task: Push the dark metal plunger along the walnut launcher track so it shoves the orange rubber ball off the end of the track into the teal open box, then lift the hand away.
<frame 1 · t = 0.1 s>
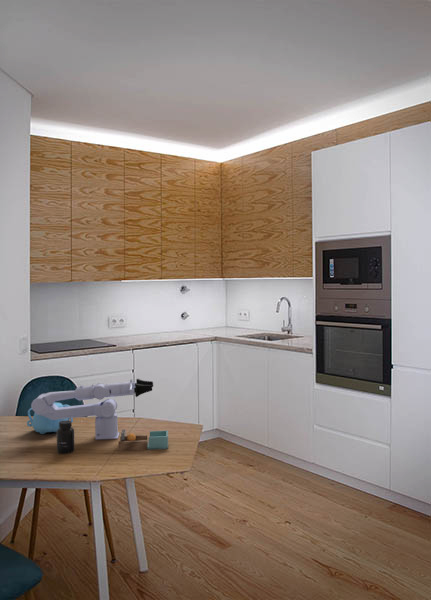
hand: (152, 386, 225), 22 cm above the table, tool horizontal, fingers open, 7 cm apart
decorative pot: (50, 430, 235), on the table, touching arm
plunger: (123, 436, 210), point 4 cm above the table, slide at 0.0 cm
ball: (131, 437, 211), point 4 cm above the table, touching launcher
launcher: (133, 446, 211), on the table
teal open box: (158, 445, 211), on the table
supplement bottle: (66, 452, 207), on the table
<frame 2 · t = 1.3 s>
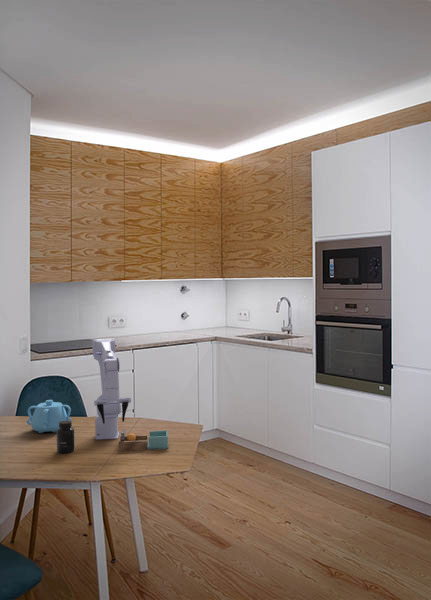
hand: (113, 422, 209), 11 cm above the table, tool pointing down, fingers open, 7 cm apart
decorative pot: (49, 430, 236), on the table
everything else where it was.
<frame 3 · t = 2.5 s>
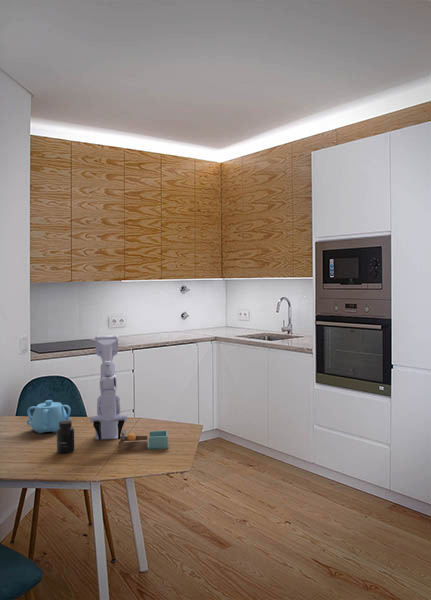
hand: (109, 439, 210), 4 cm above the table, tool pointing down, fingers open, 7 cm apart
plunger: (123, 436, 210), point 4 cm above the table, slide at 0.1 cm, touching gripper
everything else where it was.
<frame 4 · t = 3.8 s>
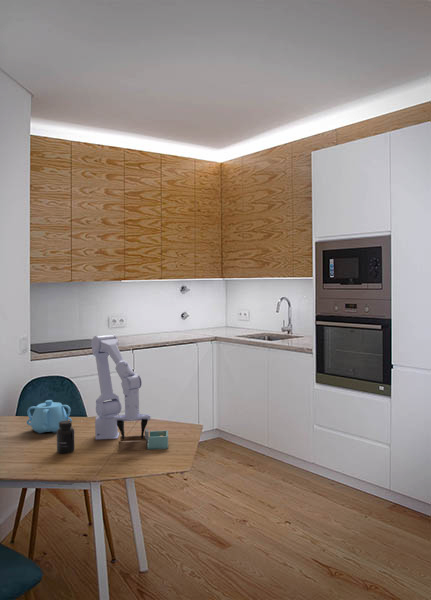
hand: (132, 438, 211), 4 cm above the table, tool pointing down, fingers open, 7 cm apart
plunger: (146, 435, 211), point 4 cm above the table, slide at 9.4 cm, touching gripper
ball: (161, 440, 211), point 2 cm above the table, tilted 55°, touching teal open box
everything else where it was.
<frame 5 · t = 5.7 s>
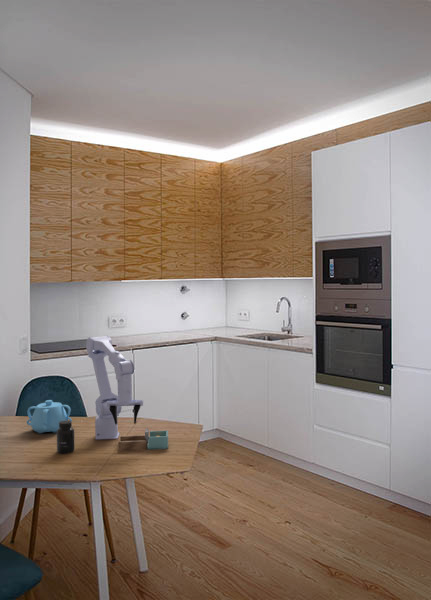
hand: (125, 423, 212), 9 cm above the table, tool pointing down, fingers open, 7 cm apart
plunger: (146, 435, 211), point 4 cm above the table, slide at 9.4 cm
ball: (157, 440, 211), point 2 cm above the table, tilted 7°, touching teal open box
everything else where it was.
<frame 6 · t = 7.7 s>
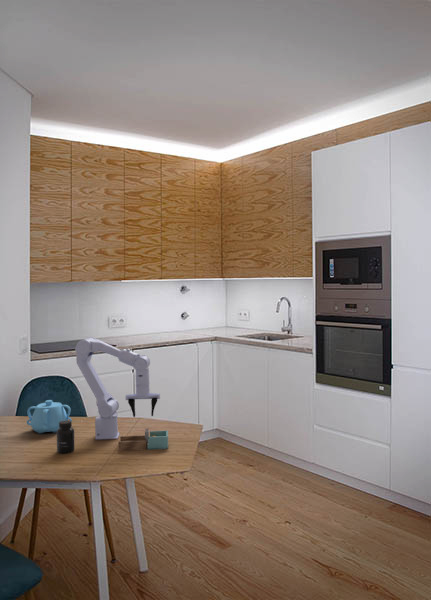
hand: (143, 415, 222), 9 cm above the table, tool pointing down, fingers open, 7 cm apart
ball: (154, 440, 211), point 2 cm above the table, tilted 44°, touching teal open box
everything else where it was.
at the end: ball inside the target area on the teal open box (1.6 cm from its centre), point 2.3 cm above the teal open box's base; plunger slide at 9.4 cm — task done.
